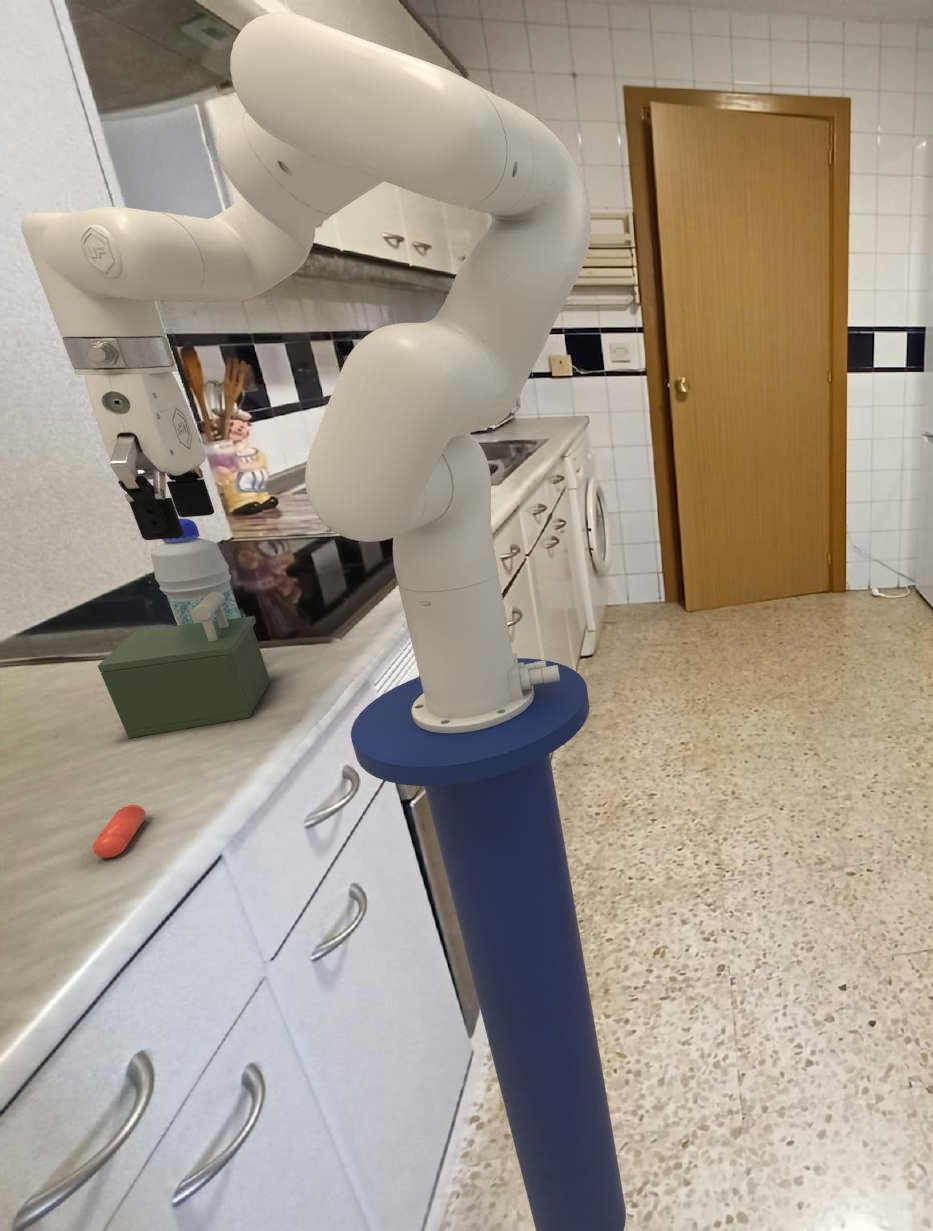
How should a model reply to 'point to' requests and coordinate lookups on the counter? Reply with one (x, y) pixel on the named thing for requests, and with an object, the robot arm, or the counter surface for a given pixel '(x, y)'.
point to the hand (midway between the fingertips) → (181, 526)
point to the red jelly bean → (119, 831)
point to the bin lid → (182, 639)
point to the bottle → (192, 574)
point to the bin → (189, 691)
